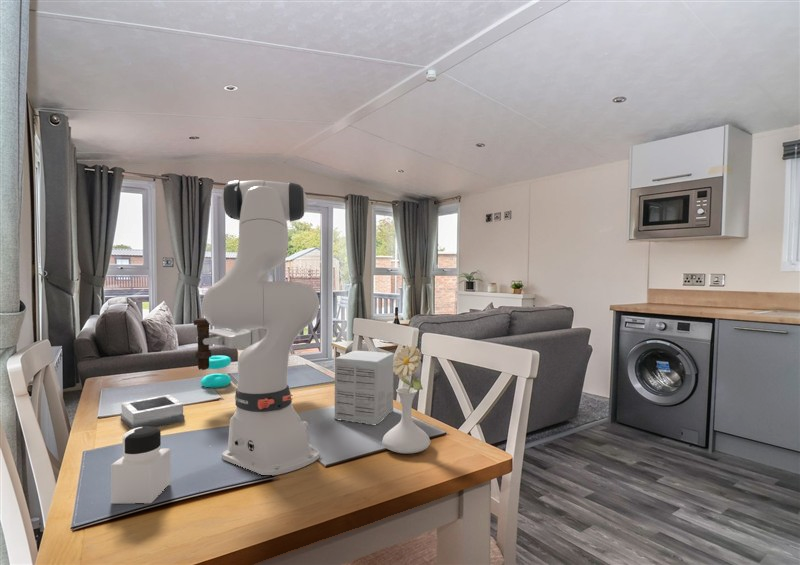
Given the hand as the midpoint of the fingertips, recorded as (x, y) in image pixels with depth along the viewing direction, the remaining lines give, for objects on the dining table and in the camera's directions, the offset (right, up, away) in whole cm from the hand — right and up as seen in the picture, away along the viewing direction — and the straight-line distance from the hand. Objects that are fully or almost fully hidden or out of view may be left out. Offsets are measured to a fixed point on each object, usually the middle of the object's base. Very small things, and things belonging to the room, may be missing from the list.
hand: (200, 340), depth 128 cm
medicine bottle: (+12, -22, -48) cm, 54 cm away
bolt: (+1, -9, +1) cm, 9 cm away
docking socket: (-9, -21, -9) cm, 24 cm away
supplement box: (+49, -21, -4) cm, 54 cm away
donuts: (-7, -20, +27) cm, 34 cm away
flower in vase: (+61, -22, -27) cm, 70 cm away
